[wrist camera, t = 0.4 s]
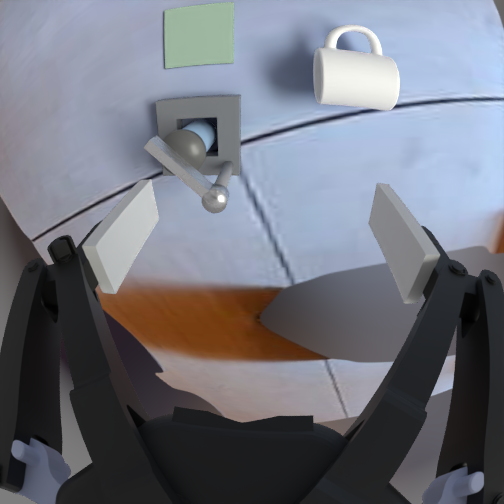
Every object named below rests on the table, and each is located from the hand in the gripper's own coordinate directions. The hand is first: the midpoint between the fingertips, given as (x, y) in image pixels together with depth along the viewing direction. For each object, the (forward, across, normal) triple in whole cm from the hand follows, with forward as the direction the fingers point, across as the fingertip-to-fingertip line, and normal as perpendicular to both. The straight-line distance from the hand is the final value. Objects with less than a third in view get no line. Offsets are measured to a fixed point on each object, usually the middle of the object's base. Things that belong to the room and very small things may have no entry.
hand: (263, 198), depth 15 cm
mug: (+27, +11, +9) cm, 31 cm away
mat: (+27, -10, +14) cm, 32 cm away
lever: (+15, -9, -4) cm, 18 cm away
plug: (+27, -10, -2) cm, 29 cm away
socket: (+27, -10, -2) cm, 29 cm away
